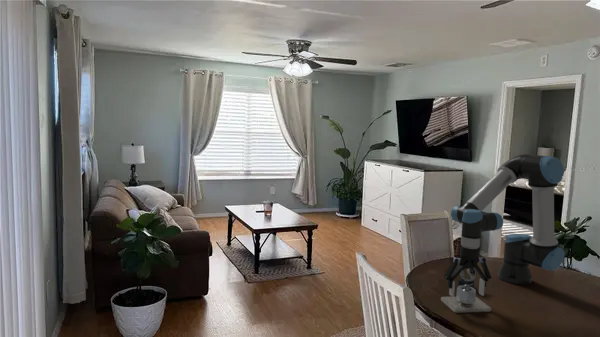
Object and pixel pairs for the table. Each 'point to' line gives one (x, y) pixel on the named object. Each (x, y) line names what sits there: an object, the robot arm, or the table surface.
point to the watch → (465, 280)
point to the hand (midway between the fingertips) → (466, 295)
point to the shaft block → (463, 307)
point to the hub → (466, 295)
